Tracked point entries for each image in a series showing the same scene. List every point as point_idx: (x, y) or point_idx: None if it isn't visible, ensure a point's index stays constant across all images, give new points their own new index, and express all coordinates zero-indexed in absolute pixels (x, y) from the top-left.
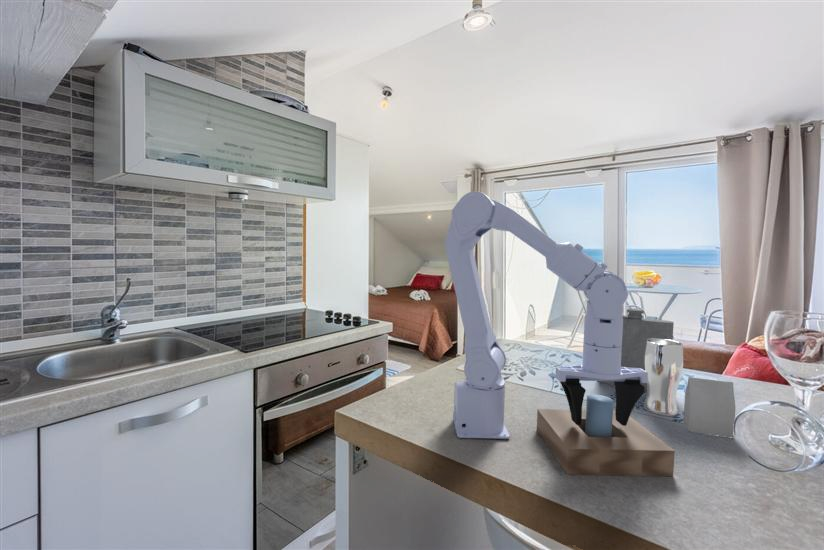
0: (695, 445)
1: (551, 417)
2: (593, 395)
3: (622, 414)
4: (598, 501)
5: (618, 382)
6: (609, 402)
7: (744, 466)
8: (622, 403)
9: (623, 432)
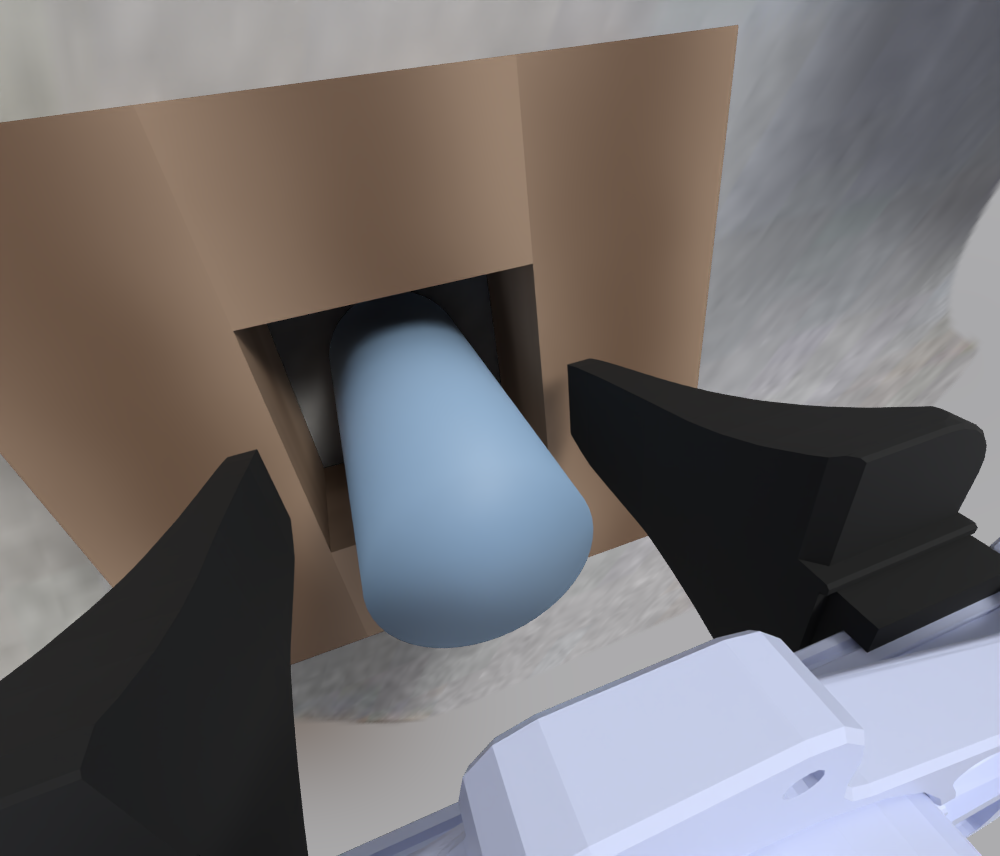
0: (887, 171)
1: (25, 354)
2: (448, 510)
3: (607, 459)
4: (322, 666)
5: (796, 553)
6: (540, 597)
7: (897, 317)
8: (655, 495)
9: (553, 433)
